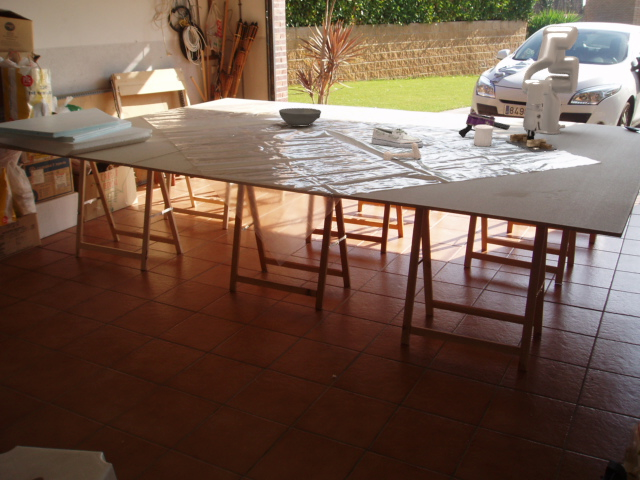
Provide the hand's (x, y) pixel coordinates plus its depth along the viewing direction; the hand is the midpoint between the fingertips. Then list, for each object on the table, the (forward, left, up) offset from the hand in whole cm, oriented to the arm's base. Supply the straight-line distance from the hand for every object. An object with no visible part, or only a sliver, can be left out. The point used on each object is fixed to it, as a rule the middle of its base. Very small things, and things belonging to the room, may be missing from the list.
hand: (529, 143), depth 302 cm
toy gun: (+9, -30, -2) cm, 31 cm away
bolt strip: (-2, -2, -2) cm, 4 cm away
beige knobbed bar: (+71, +1, -3) cm, 71 cm away
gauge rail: (-2, -2, -2) cm, 3 cm away
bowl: (+96, -103, -2) cm, 141 cm away
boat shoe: (+62, -29, -3) cm, 68 cm away
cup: (+19, -14, -3) cm, 24 cm away
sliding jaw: (-2, +3, -1) cm, 4 cm away
